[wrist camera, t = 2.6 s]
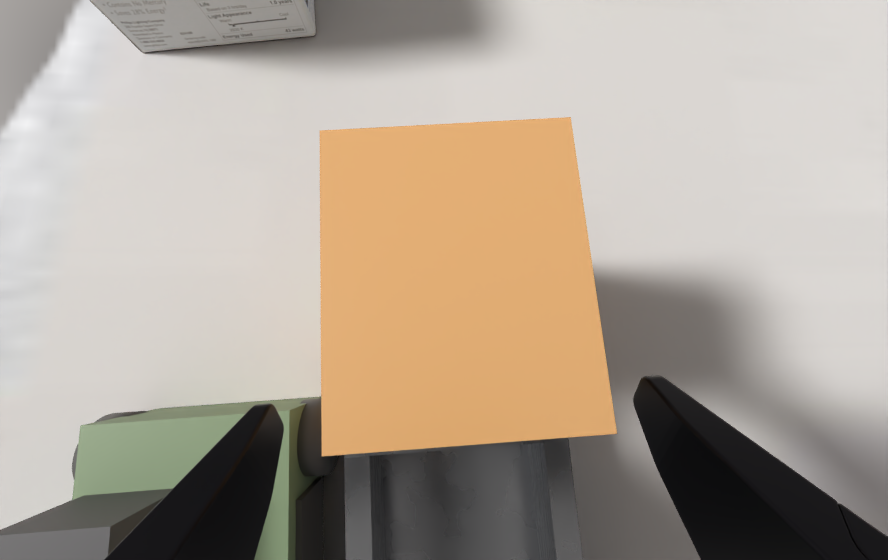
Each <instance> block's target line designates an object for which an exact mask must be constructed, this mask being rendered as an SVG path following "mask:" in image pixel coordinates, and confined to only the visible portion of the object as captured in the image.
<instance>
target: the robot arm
mask: <svg viewBox="0 0 888 560" xmlns="http://www.w3.org/2000/svg"><path fill="white" fill-rule="evenodd" d="M633 402H634V407H635V410H636V413H637V415H638V418H639V421H640V424H641V426H642V429H643V432H644V435H645V437H646V440H647V443H648V445H649V448H650V451H651V454H652V456H653V459H654V462H655V464H656V467H657V469H658V471H659V473H660V475H661V478H662V480H663V482H664V484H665V486H666V488H667V490H668V492H669V494H670V496H671V498H672V500H673V503H674V505H675V507H676V509H677V511H678V513H679V515H680V517H681V519H682V521H683V523H684V525H685V527H686V529H687V532H688V534H689V536H690V538H691V540H692V542H693V544H694V546H695V548H696V550H697V552H698V554H699V556H700V558H701V560H888V537H887V536H886V535H885V534H883V533H882V532H880V531H879V530H877V529H876V528H874V527H873V526H872V525H870V524H869V523H867V522H866V521H864V520H863V519H862V518H860V517H859V516H857V515H856V514H855V513H853V512H852V511H850V510H849V509H848V508H846V507H845V506H843V505H842V504H838V503H837V501H836V500H835V499H833V498H832V497H830V496H829V495H828V494H826V493H825V492H823V491H822V490H821V489H819V488H818V487H816V486H815V485H814V484H812V483H811V482H809V481H808V480H807V479H805V478H804V477H802V476H801V475H800V474H798V473H797V472H795V471H794V470H793V469H791V468H790V467H788V466H787V465H786V464H784V463H783V462H781V461H780V460H779V459H777V458H776V457H774V456H773V455H772V454H770V453H769V452H767V451H766V450H765V449H763V448H762V447H760V446H759V445H758V444H756V443H755V442H753V441H752V440H751V439H749V438H748V437H746V436H745V435H744V434H742V433H741V432H739V431H738V430H737V429H735V428H734V427H732V426H731V425H730V424H728V423H727V422H725V421H724V420H723V419H721V418H720V417H718V416H717V415H716V414H714V413H713V412H711V411H710V410H708V409H707V408H706V407H704V406H703V405H701V404H700V403H699V402H697V401H696V400H694V399H693V398H692V397H690V396H689V395H687V394H686V393H685V392H683V391H682V390H680V389H679V388H678V387H676V386H675V385H673V384H672V383H671V382H669V381H668V380H666V379H665V378H663V377H661V376H657V375H656V376H645V377H643V378H642V379H641V380H640V383H639V385H638V387H637V390H636V392H635V395H634V399H633ZM283 433H284V425H283V422H282V420H281V418H280V416H279V413H278V411H277V409H276V407H275V406H274V405H273V404H272V403H266V404H257V405H254V406H253V407H252V408H250V410H249V411H248V412H247V413H246V414H245V415H244V416H243V417H242V418H241V419H240V420H239V421H238V422H237V423H236V424H235V425H234V426H233V427H232V428H231V429H230V430H229V431H228V432H227V433H226V434H225V435H224V436H223V437H222V438H221V439H220V440H219V441H218V442H217V444H216V445H215V446H214V447H213V448H212V449H211V450H210V451H209V452H208V453H207V454H206V455H205V456H204V457H203V458H202V459H201V460H200V461H199V462H198V463H197V464H196V465H195V466H194V467H193V468H192V469H191V470H190V471H189V472H188V473H187V474H186V475H185V476H184V478H183V479H182V480H181V481H180V482H179V483H178V484H177V485H176V486H175V487H174V488H173V489H172V490H171V491H170V492H169V493H168V494H167V495H166V496H165V497H164V498H163V499H162V500H161V501H160V502H159V503H158V504H157V505H156V506H155V507H154V508H153V509H152V511H151V512H150V513H149V514H148V515H147V516H146V517H145V518H144V519H143V520H142V521H141V522H140V523H139V524H138V525H137V526H136V527H135V528H134V529H133V530H132V531H131V532H130V533H129V534H128V535H127V536H126V537H125V538H124V539H123V540H122V541H121V542H120V543H119V545H118V546H117V547H116V548H115V549H114V550H113V551H112V552H111V553H110V554H109V555H108V556H107V557H106V558H105V559H104V560H254V558H255V555H256V551H257V548H258V544H259V541H260V538H261V534H262V531H263V527H264V524H265V520H266V517H267V513H268V510H269V506H270V502H271V498H272V494H273V489H274V483H275V478H276V472H277V467H278V461H279V455H280V450H281V444H282V439H283Z"/></svg>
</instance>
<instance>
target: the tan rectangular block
mask: <svg viewBox="0 0 888 560" xmlns="http://www.w3.org/2000/svg"><path fill="white" fill-rule="evenodd" d="M320 259H321V424H322V456H334V455H347V454H360V453H373V452H386V451H399V450H412V449H425V448H438V447H451V446H464V445H477V444H490V443H503V442H516V441H529V440H542V439H555V438H568V437H581V436H594V435H607V434H617V430H616V423H615V417H614V410H613V403H612V396H611V389H610V382H609V376H608V369H607V362H606V355H605V348H604V342H603V335H602V328H601V321H600V314H599V308H598V301H597V294H596V287H595V280H594V274H593V267H592V260H591V253H590V246H589V240H588V233H587V226H586V219H585V212H584V206H583V199H582V192H581V185H580V178H579V172H578V165H577V158H576V151H575V144H574V138H573V131H572V124H571V117H566V118H548V119H529V120H510V121H491V122H473V123H454V124H435V125H416V126H397V127H379V128H360V129H341V130H322V131H320Z"/></svg>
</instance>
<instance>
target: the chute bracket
mask: <svg viewBox="0 0 888 560" xmlns="http://www.w3.org/2000/svg"><path fill="white" fill-rule="evenodd" d="M344 480H345V540H346V560H583V556H582V548H581V540H580V532H579V523H578V515H577V507H576V499H575V491H574V483H573V475H572V467H571V459H570V451H569V442H568V438H555V439H542V440H529V441H516V442H503V443H490V444H477V445H464V446H451V447H438V448H425V449H412V450H399V451H386V452H373V453H360V454H347V455H344Z"/></svg>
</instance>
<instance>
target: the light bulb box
mask: <svg viewBox="0 0 888 560" xmlns="http://www.w3.org/2000/svg"><path fill="white" fill-rule="evenodd" d="M90 1H91V2H92V3H93V4H94V5H95V6H96V7H97V8H98V9H99V10H100V11H101V12H102V13H103V14H104V15H105V16H106V17H107V18H108V19H109V20H110V21H111V22H112V23H113V24H114V25H115V26H116V27H117V28H118V29H119V30H120V31H121V32H122V33H123V34H124V35H125V36H126V37H127V38H128V39H129V40H130V41H131V42H132V43H133V44H134V45H135V46H136V47H137V48H138V49H139V50H140V51H141V52H142V53H145V52H151V51H161V50H172V49H182V48H192V47H202V46H212V45H224V44H234V43H244V42H255V41H265V40H275V39H286V38H296V37H307V36H314V35H315V34H316V28H315V10H314V0H90Z"/></svg>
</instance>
